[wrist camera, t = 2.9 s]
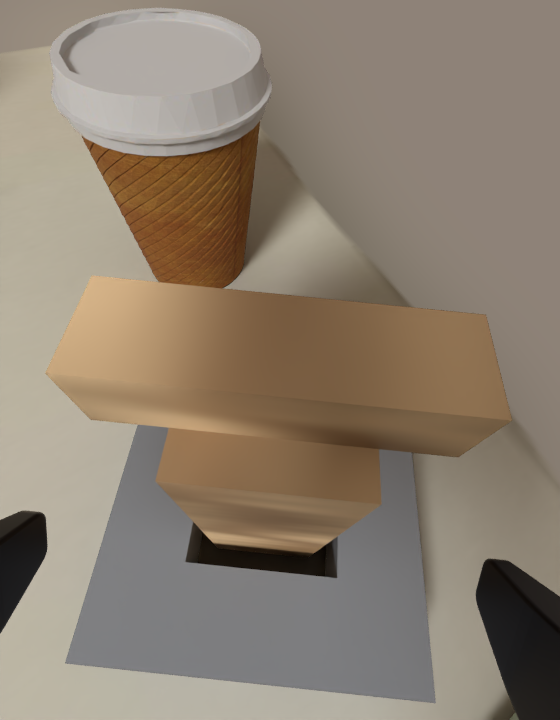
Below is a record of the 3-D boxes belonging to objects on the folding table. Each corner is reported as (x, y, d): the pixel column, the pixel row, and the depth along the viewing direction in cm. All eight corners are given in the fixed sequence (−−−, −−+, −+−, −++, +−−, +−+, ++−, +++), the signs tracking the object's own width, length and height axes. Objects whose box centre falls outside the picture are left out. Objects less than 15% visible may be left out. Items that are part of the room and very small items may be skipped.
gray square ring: (387, 403, 21) (404, 377, 18) (405, 683, 15) (435, 703, 12) (171, 381, 21) (159, 352, 19) (98, 651, 15) (65, 663, 12)
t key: (341, 471, 19) (475, 273, 7) (341, 561, 17) (529, 490, 5) (202, 456, 19) (109, 237, 7) (184, 544, 17) (14, 436, 5)
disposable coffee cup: (108, 238, 27) (16, 19, 17) (231, 201, 30) (217, -6, 19) (154, 336, 23) (68, 126, 12) (292, 283, 25) (315, 74, 15)
